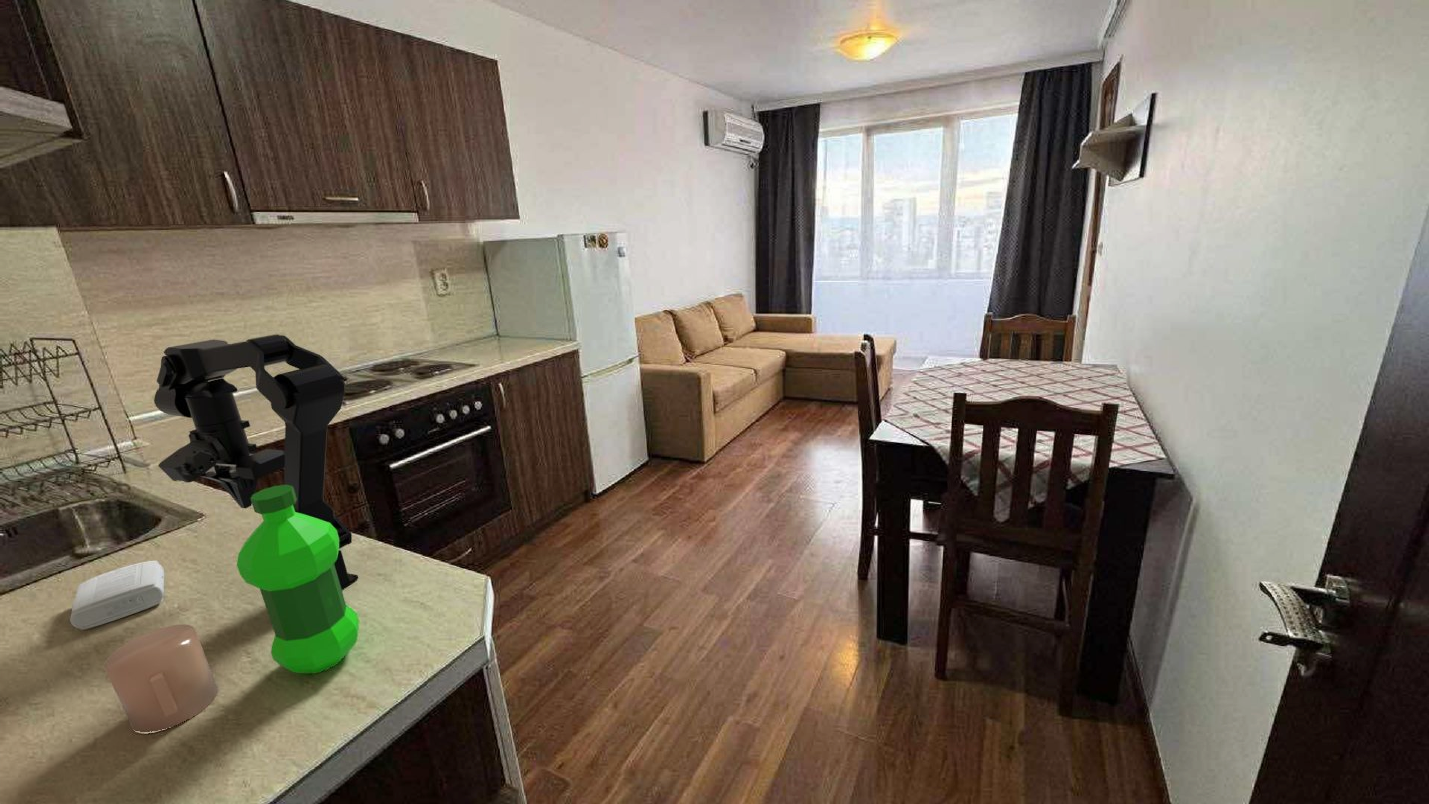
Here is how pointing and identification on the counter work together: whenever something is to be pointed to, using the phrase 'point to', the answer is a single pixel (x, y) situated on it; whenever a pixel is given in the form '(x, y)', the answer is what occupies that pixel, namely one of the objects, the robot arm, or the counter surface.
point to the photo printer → (118, 594)
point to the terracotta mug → (162, 678)
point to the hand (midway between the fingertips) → (246, 507)
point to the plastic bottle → (298, 583)
